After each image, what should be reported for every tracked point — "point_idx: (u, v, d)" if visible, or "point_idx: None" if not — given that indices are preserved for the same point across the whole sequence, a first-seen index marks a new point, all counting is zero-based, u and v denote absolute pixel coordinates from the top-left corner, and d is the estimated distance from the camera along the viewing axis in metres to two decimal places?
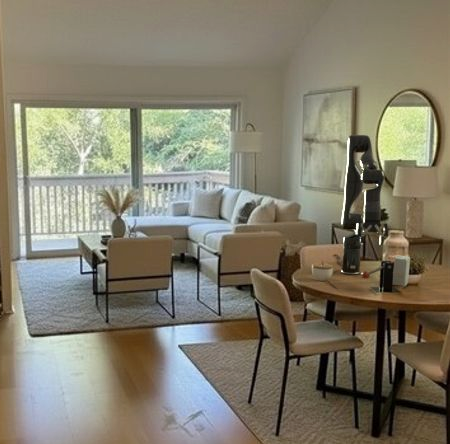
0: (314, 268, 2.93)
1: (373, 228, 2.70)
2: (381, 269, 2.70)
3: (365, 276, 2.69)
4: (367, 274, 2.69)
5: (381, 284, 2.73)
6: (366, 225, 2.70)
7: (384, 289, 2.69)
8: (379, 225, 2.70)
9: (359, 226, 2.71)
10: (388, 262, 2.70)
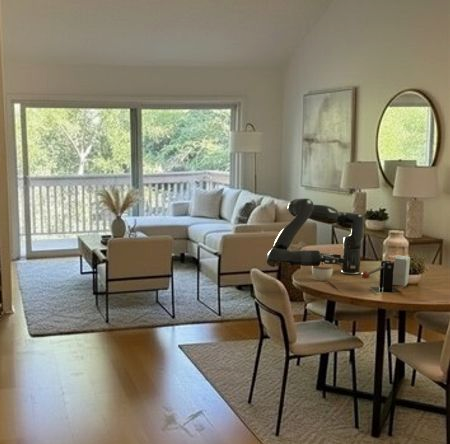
0: (314, 268, 2.93)
1: None
2: (381, 269, 2.70)
3: (365, 276, 2.69)
4: (367, 274, 2.69)
5: (381, 284, 2.73)
6: None
7: (384, 289, 2.69)
8: None
9: None
10: (388, 262, 2.70)
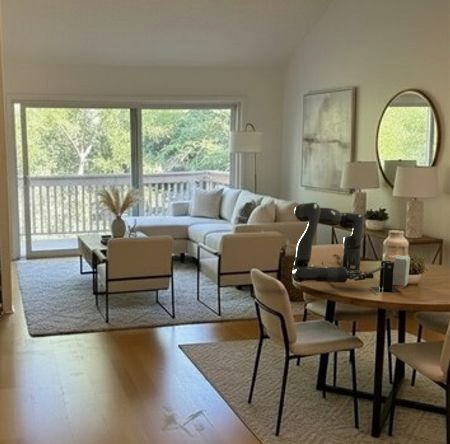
0: None
1: None
2: (381, 269, 2.70)
3: None
4: None
5: (381, 284, 2.73)
6: None
7: (384, 289, 2.69)
8: None
9: None
10: (388, 262, 2.70)
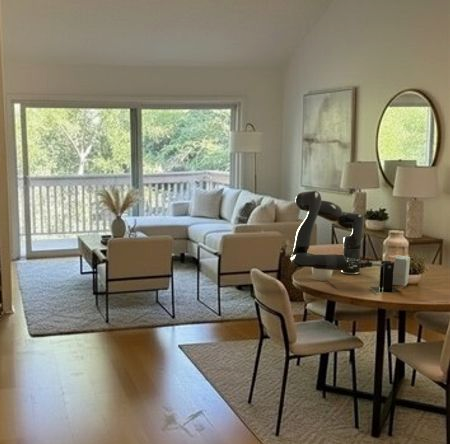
0: None
1: None
2: None
3: None
4: None
5: (381, 284, 2.73)
6: None
7: (384, 289, 2.69)
8: None
9: None
10: None
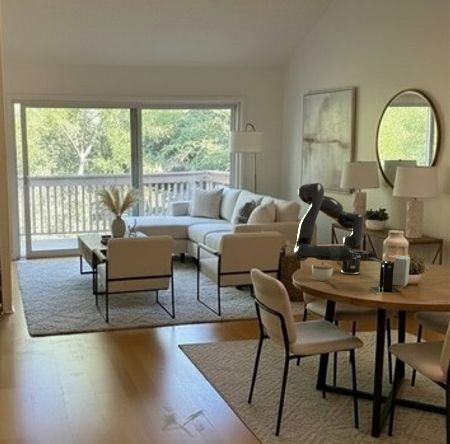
0: (314, 268, 2.93)
1: None
2: (381, 263, 2.69)
3: None
4: None
5: (381, 284, 2.73)
6: None
7: (384, 289, 2.69)
8: None
9: None
10: None
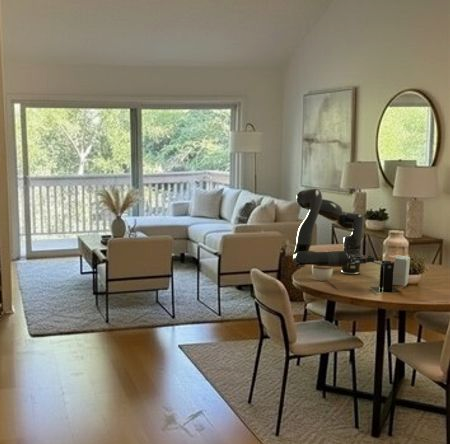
0: (314, 268, 2.93)
1: None
2: (380, 264, 2.69)
3: None
4: None
5: (381, 284, 2.73)
6: None
7: (384, 289, 2.69)
8: None
9: None
10: None
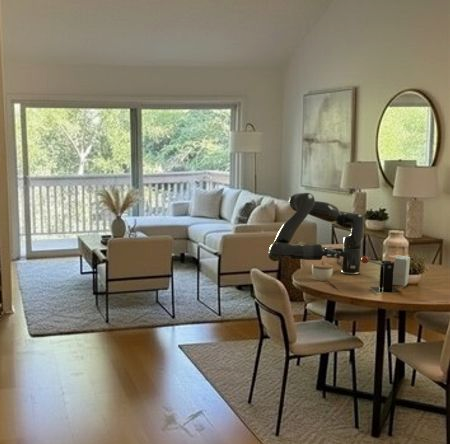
0: (314, 268, 2.93)
1: None
2: None
3: (364, 260, 2.68)
4: (367, 259, 2.68)
5: (381, 284, 2.73)
6: None
7: (384, 289, 2.69)
8: None
9: None
10: None
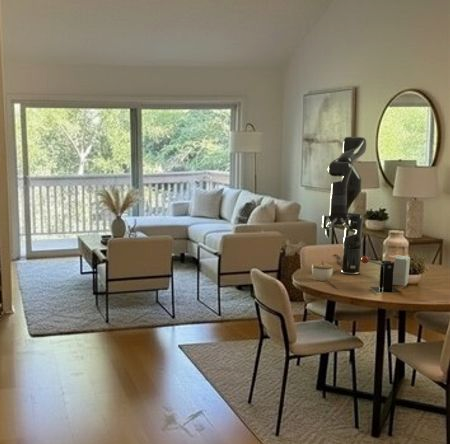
0: (314, 268, 2.93)
1: (339, 221, 2.70)
2: None
3: (364, 260, 2.68)
4: (367, 259, 2.68)
5: (381, 284, 2.73)
6: (332, 218, 2.70)
7: (384, 289, 2.69)
8: (345, 218, 2.70)
9: (325, 219, 2.70)
10: None
